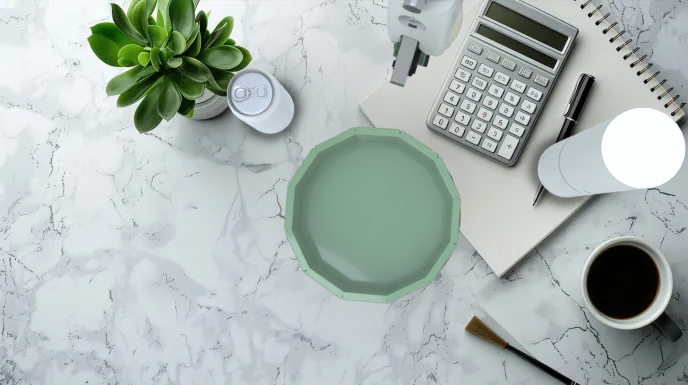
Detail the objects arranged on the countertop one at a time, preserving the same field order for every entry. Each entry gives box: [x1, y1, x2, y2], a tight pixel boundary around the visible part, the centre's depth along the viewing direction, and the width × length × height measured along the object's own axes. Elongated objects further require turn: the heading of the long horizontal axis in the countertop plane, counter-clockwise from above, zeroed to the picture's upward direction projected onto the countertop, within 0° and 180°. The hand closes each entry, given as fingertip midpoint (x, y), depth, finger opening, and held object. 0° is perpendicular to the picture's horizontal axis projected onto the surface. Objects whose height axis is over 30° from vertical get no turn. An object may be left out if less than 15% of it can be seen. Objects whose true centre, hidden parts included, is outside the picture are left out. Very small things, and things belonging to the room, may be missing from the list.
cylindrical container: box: [537, 107, 686, 198], centre depth 67 cm, size 7×7×25 cm
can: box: [226, 67, 295, 135], centre depth 77 cm, size 6×6×12 cm
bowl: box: [283, 126, 462, 305], centre depth 54 cm, size 15×15×5 cm
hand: (425, 18), depth 57 cm, fingers closed on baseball, 7 cm apart
